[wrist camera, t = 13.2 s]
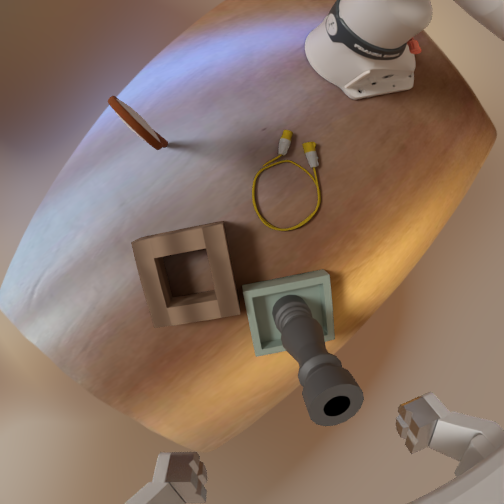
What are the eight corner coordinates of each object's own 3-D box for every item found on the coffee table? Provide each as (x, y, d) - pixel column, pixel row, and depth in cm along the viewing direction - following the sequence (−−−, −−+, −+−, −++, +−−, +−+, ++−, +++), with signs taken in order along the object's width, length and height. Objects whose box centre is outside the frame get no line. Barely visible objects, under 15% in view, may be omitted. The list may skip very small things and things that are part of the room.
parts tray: (323, 269, 49) (329, 274, 45) (328, 330, 51) (334, 339, 48) (242, 285, 48) (242, 291, 45) (254, 346, 51) (255, 356, 47)
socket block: (223, 220, 46) (222, 223, 41) (239, 302, 49) (240, 314, 44) (140, 237, 46) (131, 242, 41) (161, 315, 48) (154, 327, 43)
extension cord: (344, 169, 46) (349, 168, 44) (291, 244, 48) (294, 246, 46) (287, 124, 44) (290, 121, 42) (231, 200, 46) (231, 201, 44)
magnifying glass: (145, 131, 42) (93, 94, 23) (153, 124, 42) (105, 82, 23) (179, 166, 44) (142, 147, 24) (187, 159, 44) (155, 134, 24)
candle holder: (298, 287, 48) (356, 370, 24) (312, 316, 49) (372, 408, 25) (265, 305, 48) (296, 402, 24) (281, 333, 49) (319, 435, 25)
